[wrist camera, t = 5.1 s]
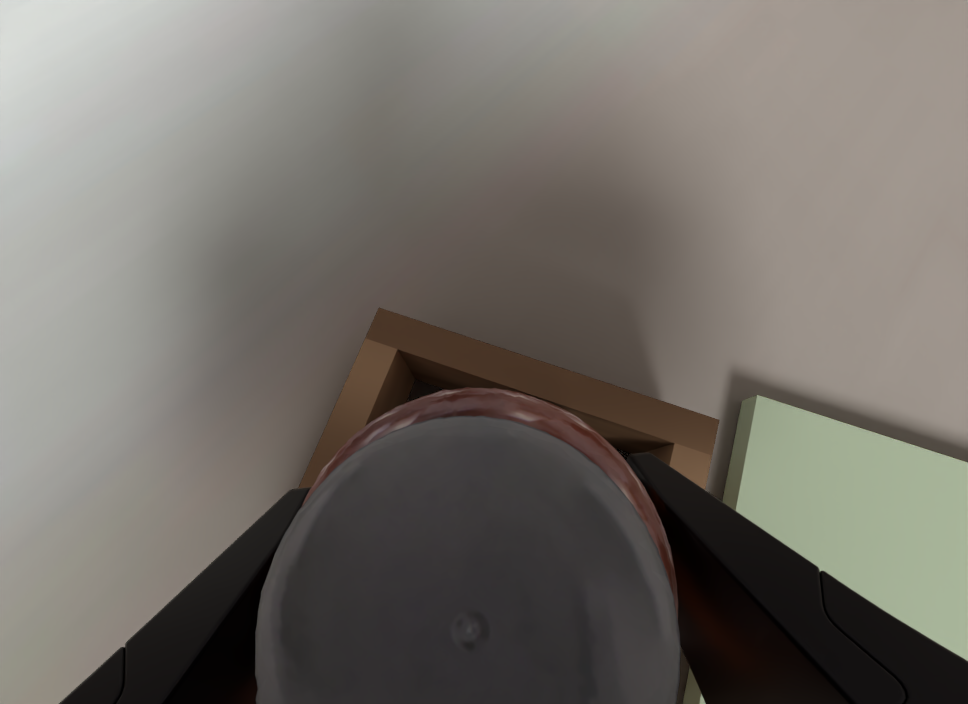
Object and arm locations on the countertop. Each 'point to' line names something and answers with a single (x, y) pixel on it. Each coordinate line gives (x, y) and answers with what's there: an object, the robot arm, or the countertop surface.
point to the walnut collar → (471, 363)
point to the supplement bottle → (472, 567)
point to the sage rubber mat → (858, 513)
